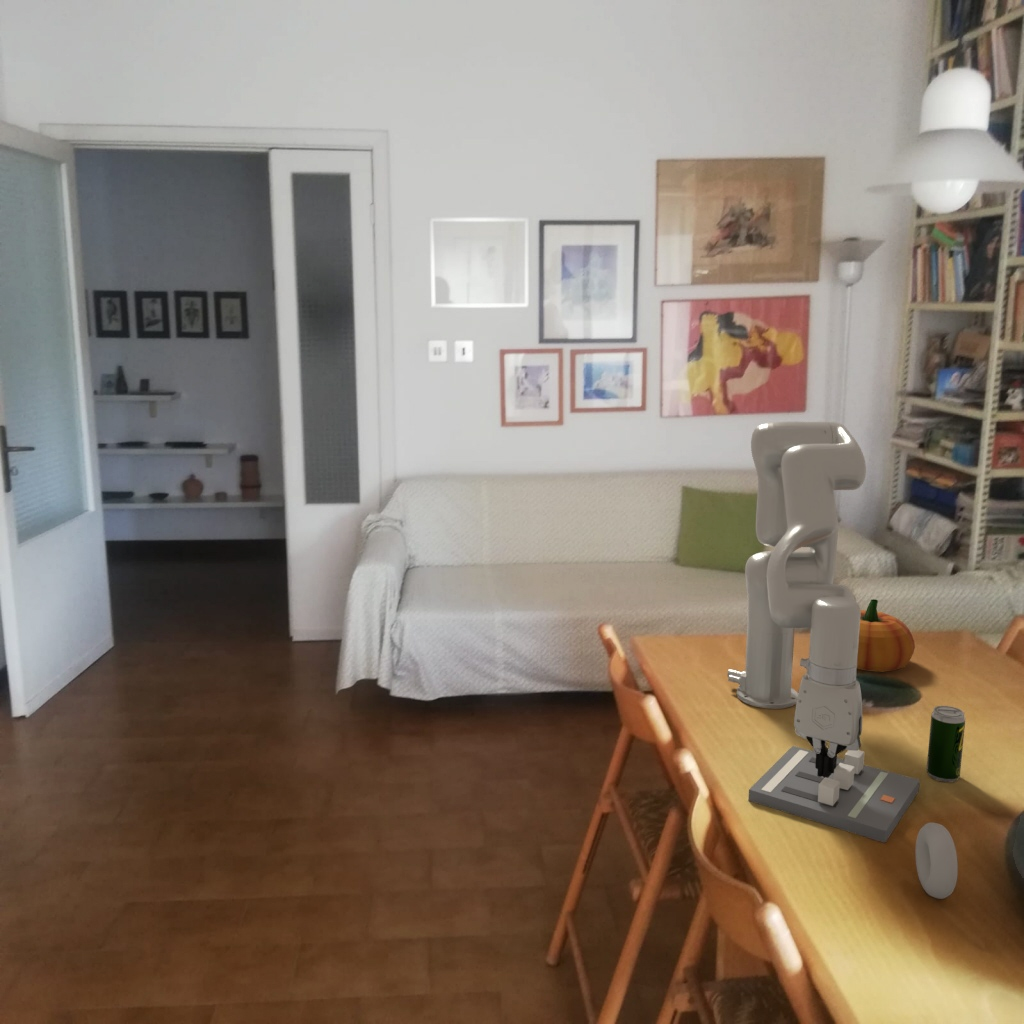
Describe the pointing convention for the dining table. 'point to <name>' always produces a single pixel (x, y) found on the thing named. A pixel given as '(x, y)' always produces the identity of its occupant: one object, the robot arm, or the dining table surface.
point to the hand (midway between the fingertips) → (825, 774)
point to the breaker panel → (837, 817)
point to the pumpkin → (883, 641)
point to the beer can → (945, 743)
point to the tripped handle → (844, 775)
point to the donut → (936, 860)
